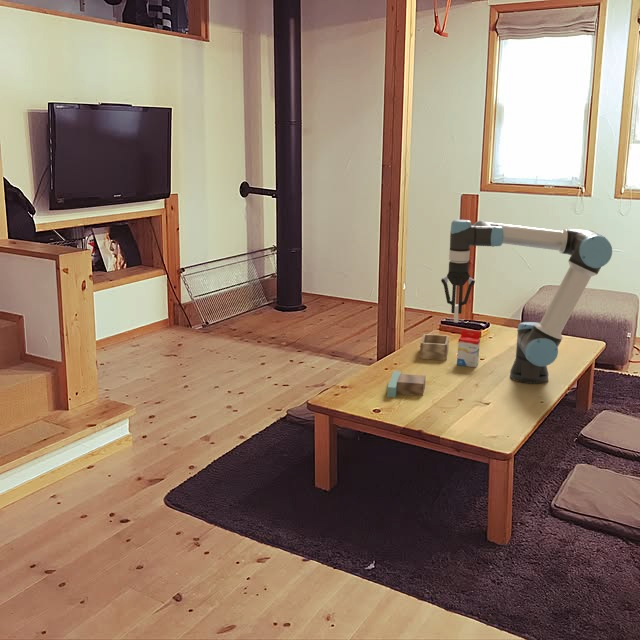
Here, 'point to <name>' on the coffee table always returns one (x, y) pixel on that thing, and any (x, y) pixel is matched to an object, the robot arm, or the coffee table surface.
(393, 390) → the teal long rectangular bar
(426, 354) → the box
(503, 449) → the coffee table surface
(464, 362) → the ink box
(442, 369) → the coffee table surface
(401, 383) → the block
